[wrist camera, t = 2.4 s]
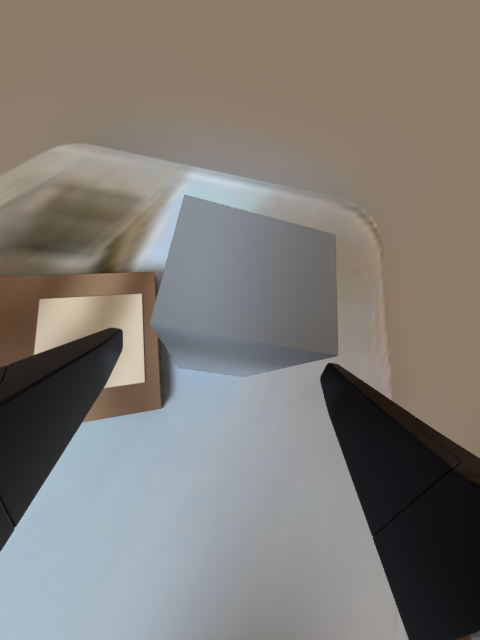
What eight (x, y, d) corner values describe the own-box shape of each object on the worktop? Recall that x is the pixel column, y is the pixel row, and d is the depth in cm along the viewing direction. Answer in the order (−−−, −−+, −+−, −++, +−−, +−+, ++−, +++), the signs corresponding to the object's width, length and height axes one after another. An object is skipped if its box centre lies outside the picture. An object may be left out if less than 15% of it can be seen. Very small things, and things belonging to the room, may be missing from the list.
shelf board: (156, 278, 20) (133, 208, 12) (162, 407, 17) (138, 423, 9) (-68, 287, 16) (-307, 193, 8) (-109, 454, 13) (-539, 548, 5)
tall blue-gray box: (243, 376, 19) (338, 355, 7) (178, 367, 18) (149, 323, 6) (249, 327, 20) (335, 234, 8) (189, 316, 19) (184, 194, 7)
